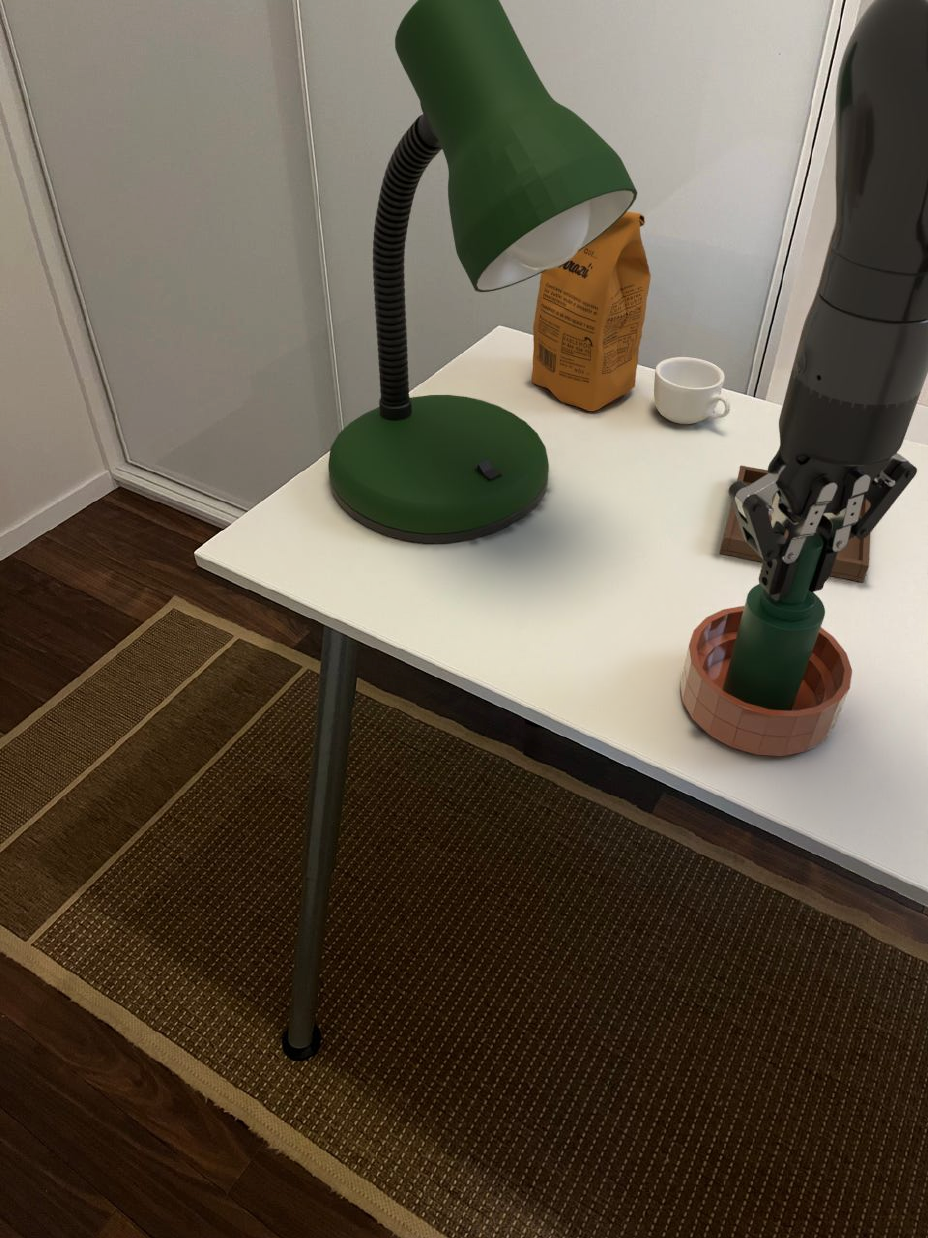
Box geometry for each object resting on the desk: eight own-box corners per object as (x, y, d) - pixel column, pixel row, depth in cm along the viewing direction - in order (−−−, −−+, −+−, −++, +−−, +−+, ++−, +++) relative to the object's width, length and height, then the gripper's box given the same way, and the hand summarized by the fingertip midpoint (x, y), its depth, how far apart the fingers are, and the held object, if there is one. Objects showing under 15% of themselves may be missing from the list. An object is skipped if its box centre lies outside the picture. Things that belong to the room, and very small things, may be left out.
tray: (866, 505, 97) (872, 488, 95) (862, 582, 87) (869, 565, 86) (736, 481, 100) (740, 465, 99) (719, 553, 91) (723, 536, 89)
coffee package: (576, 356, 121) (592, 176, 106) (646, 394, 114) (673, 206, 99) (517, 379, 117) (525, 194, 102) (586, 420, 109) (605, 226, 94)
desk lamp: (648, 521, 95) (736, -12, 64) (478, 617, 84) (488, 31, 54) (452, 403, 112) (450, -60, 82) (291, 470, 101) (220, -34, 71)
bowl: (859, 695, 77) (877, 651, 73) (792, 786, 70) (809, 742, 67) (725, 629, 83) (736, 586, 79) (651, 708, 76) (660, 663, 72)
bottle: (804, 694, 76) (861, 536, 65) (773, 734, 73) (826, 575, 62) (742, 663, 79) (786, 506, 68) (709, 700, 76) (750, 542, 65)
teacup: (635, 411, 111) (641, 369, 107) (679, 391, 114) (686, 350, 111) (701, 447, 105) (709, 403, 101) (744, 425, 108) (754, 382, 105)
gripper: (796, 419, 52) (735, 644, 64) (996, 379, 56) (904, 599, 67) (724, 360, 57) (680, 578, 69) (911, 326, 61) (839, 539, 73)
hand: (791, 587), depth 68 cm, fingers closed on bottle, 2 cm apart
